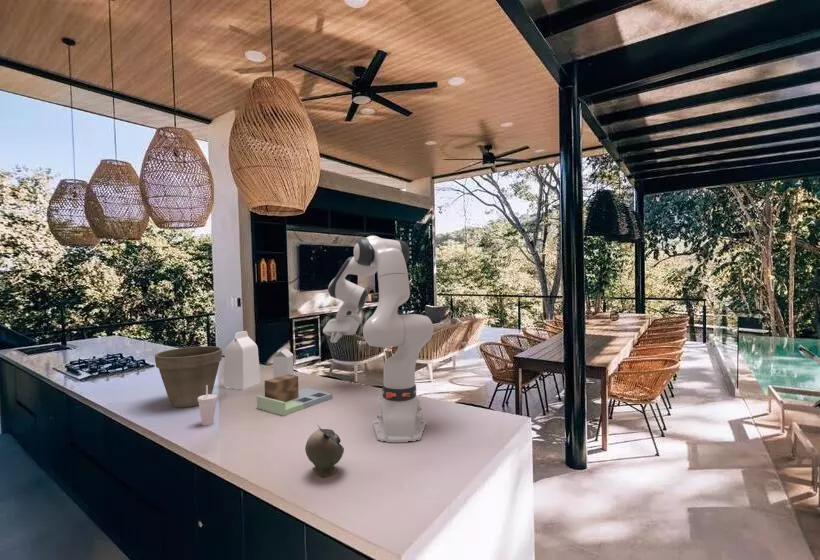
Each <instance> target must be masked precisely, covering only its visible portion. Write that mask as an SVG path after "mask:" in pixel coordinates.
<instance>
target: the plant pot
mask: <svg viewBox="0 0 820 560" xmlns="http://www.w3.org/2000/svg"><path fill="white" fill-rule="evenodd" d="M222 360H223V348H222V347H220V346H211V345H209V346H207V345H206V346H205V345H204V346H192V347H191V346H190V347H189V346H187V347H180V348H174V349H167V350H164V351H163V350H162V351H161V352H157V353H156V354H155V355H154V362H155V367H156V368H157V369H158V370H159V374H160V377H161V380H162V382H163V383H162V384H163V385H164V389H165V392H166V394H167V398H168V401H169V403H170V405H171V406H172V407H174V408H189V407H190V408H191V407H196V406H199V402H198V401H197V400H198V397H200V396H202V395H206V385H208V394H213V391H214V387H215V383H216V378H217V374H218V370H219V365H220V362H221V361H222Z"/></svg>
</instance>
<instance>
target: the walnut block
mask: <svg viewBox="0 0 820 560" xmlns="http://www.w3.org/2000/svg"><path fill="white" fill-rule="evenodd" d="M298 391H299V376H298V375H295V374H294V375H290V374H288V375H284V376H280V377H277V378H273V377H272V378H269V379H265V380H264V397H267V398H271V399H275V400H279V401H283V402H287V401H290V400H293V399H296V398H299V395H298Z"/></svg>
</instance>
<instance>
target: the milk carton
mask: <svg viewBox="0 0 820 560" xmlns="http://www.w3.org/2000/svg"><path fill="white" fill-rule="evenodd" d="M272 368H273V369H272V374H273V375H272V379H273V378H277V377H280V376H284V375H288V374H290V375H295V374H294V372H295V371H294V370H295V369H294V368H295V367H294V354H293V353H292V352H291V351H290V350H289V349H288V348H287V345H286V346H283V347H280V348H279V349H278V350H277V351H276V354H274V356H273V357H272Z"/></svg>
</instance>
